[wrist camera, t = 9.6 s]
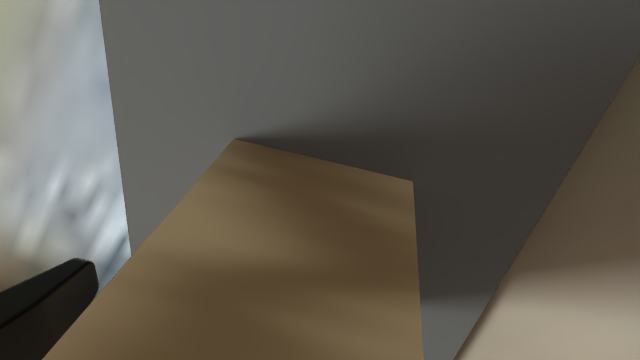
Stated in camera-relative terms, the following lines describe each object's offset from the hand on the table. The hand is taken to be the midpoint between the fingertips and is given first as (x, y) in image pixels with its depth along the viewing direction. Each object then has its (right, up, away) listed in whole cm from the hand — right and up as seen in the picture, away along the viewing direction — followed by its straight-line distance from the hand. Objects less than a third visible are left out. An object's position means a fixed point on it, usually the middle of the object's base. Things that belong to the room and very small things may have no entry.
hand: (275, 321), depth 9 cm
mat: (+1, +2, +3) cm, 4 cm away
